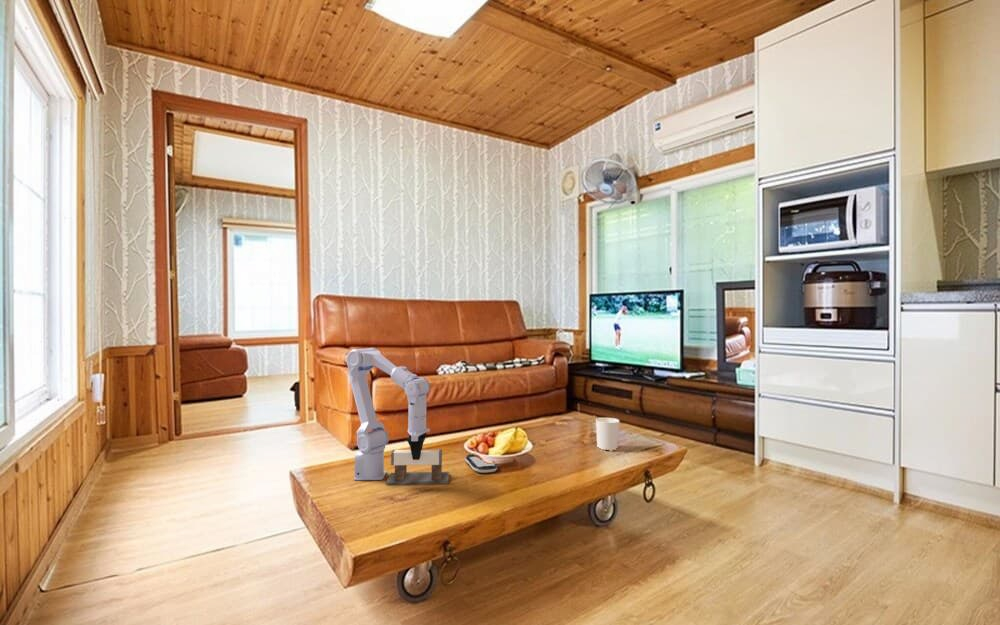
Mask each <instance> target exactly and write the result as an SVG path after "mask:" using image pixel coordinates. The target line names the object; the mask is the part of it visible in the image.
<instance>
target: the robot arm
mask: <svg viewBox="0 0 1000 625" xmlns="http://www.w3.org/2000/svg"><path fill="white" fill-rule="evenodd" d="M345 360H346V364H347V365H346V366H347V368H348V378H349V381H350V385H351V390H352V394H353V399H354V401H355V406H356V410H357V414H358V418H359V421H360V426H359V427H358V429H357V430H356V438H357V440H356V445H357V447H358V449H359V450H356V452H355V456H354V478H353V481H378V480H379V481H381V480H384V478H385V475H386V474H387V470H385V466H384V465H385V464H384V462H385V458H384V457H385V449H386V445H388V443H389V440H390V437H389V433H388V432H387V430H386V429H385V425H384V423H382V422H381V421H379V420H378V419H377V415H376V411H375V407H374V402H373V399H372V395H371V391H370V387H369V384H368V379H367V375H368V373H370V371H371V370H372V369H373V368H374V367H376V368H378V369H379V370H381V371H382V372H383V373H386V374H388V375H390V380H391V381H392V382H393V383H394V384H396V385H397V386H399V387H400V388H402V389H404V393H405V395H406V396H407V397H406V398H407V402H408V409H407V410H408V415H407V417H408V422H407V424H408V425H407V428H408V429H407V433H408V436H407V438H406V441H407V443H408V445H409V448H410V450H411V453H412V458H413V460H419V459H420V455H421V450H423V446H424V442H425V440H426V437H427V433H430V430H431V428H427V394H429V393H430V390H431V384H430V381H429V380H428V379H427V378H426V377H423V376H421V377H419V376H418V375H417V374H416V373H415V374H414V373H413V372H411V371H409V370H408V367H406V365H405V366H401V365H400V366H396V365H395V364H394V363H392V362H391V361H390V360H389V359H387V358H386V357H385V356H384V355H383V354H382V353H381V351H380V350H378V349H376V347H369V348H357V349H356V348H353V349H351V350H350V351H349V352H348V354H347V356H346V358H345Z"/></svg>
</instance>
